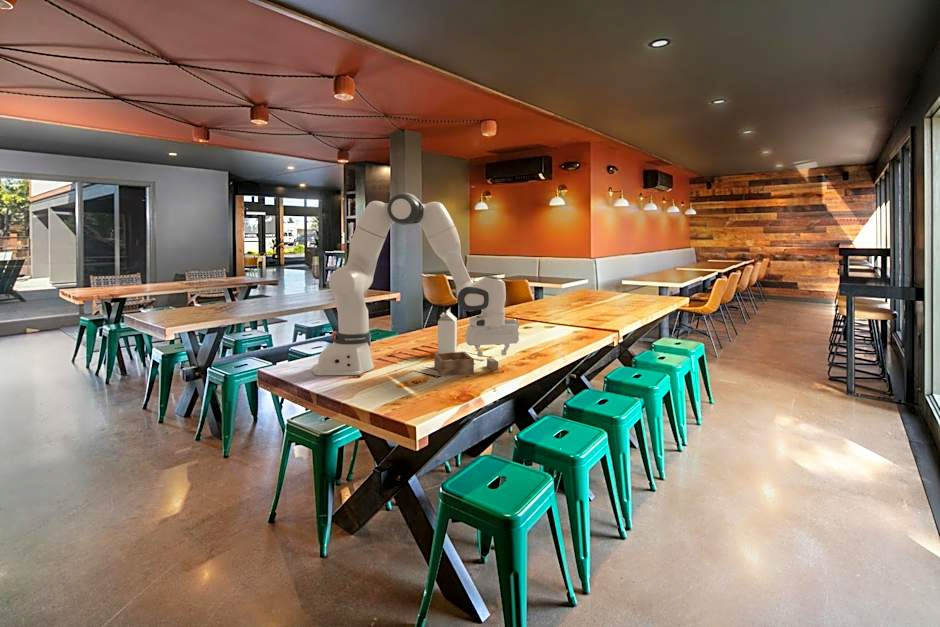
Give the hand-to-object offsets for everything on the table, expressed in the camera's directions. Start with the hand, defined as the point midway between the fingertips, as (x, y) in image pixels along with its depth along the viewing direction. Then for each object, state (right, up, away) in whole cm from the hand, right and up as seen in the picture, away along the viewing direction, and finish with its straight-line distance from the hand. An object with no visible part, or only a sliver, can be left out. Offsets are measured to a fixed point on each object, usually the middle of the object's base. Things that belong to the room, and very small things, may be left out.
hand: (491, 355), depth 185 cm
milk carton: (-18, -2, +23) cm, 29 cm away
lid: (0, -6, +1) cm, 6 cm away
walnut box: (-14, -6, -2) cm, 16 cm away
